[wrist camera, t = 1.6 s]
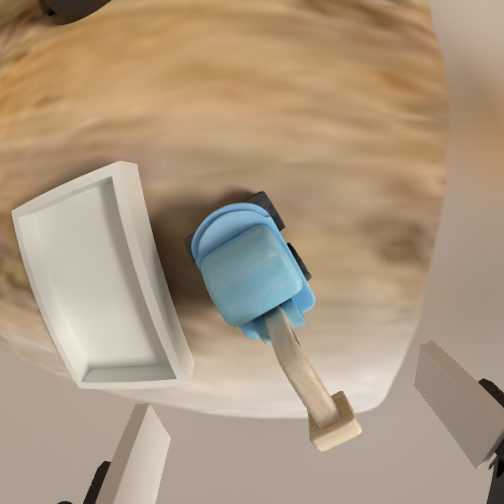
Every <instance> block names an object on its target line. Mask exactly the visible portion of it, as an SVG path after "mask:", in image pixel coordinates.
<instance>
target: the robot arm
mask: <svg viewBox="0 0 504 504" xmlns="http://www.w3.org/2000/svg"><path fill="white" fill-rule="evenodd" d="M109 1H110V0H38V3H39V5H40V7H41V10H42V12H43V14H44V16H45V17H46V18H48V19H49V20H50V21H52V22H53V23H56V24H66V23H70V22H73V21H76V20H79V19H81V18H83V17H85V16H87V15H89V14H91V13H92V12H94V11H96V10H97V9H99V8H101V7H102V6H104V5H105V4H106V3H108V2H109ZM414 386H415V387H416V389H417V390H418V391H419V393H420V394H421V395H422V396H423V398H424V399H425V400H426V401H427V403H428V404H429V405H430V407H431V408H432V409H433V411H434V412H435V413H436V415H437V416H438V417H439V419H440V420H441V421H442V423H443V424H444V425H445V427H446V428H447V429H448V431H449V432H450V433H451V435H452V436H453V437H454V439H455V440H456V442H457V443H458V444H459V446H460V447H461V449H462V450H463V451H464V453H465V454H466V456H467V457H468V458H469V460H470V461H471V463H472V464H473V466H474V467H475V468H476V469H478V468H479V467H480V466H482V465H483V464H484V463H486V462H487V461H488V460H489V459H490V458H491V456H492V455H493V454H494V452H495V453H496V455H497V456H496V458H495V459H494V460H493V462H492V463H491V464H490V466H489V469H491V468H492V466H493V465H494V468H493V469H494V471H493V476H492V482H491V487H490V491H489V495H488V500H487V504H504V393H503V392H502V391H501V390H499V388H498V387H497V386H496V385H495V384H494V383H493V382H491V381H488V380H486V379H484V378H483V379H482V380H480V381H479V382H477V381H476V380H475V379H474V378H473V377H471V375H470V374H468V373H467V372H466V371H465V370H464V369H463V368H462V367H461V366H460V365H459V364H458V363H457V362H456V361H455V360H454V359H452V358H451V357H450V356H449V355H448V354H447V353H446V352H445V351H444V350H443V349H442V348H440V347H439V346H438V345H437V344H436V343H435V342H434V341H433V340H431V341H429V342H426V343H425V344H422V345H420V350H419V358H418V366H417V372H416V378H415V384H414ZM170 439H171V438H170V436H169V435H168V433H167V432H166V430H165V429H164V427H163V426H162V424H161V422H160V421H159V419H158V417H157V416H156V414H155V412H154V411H153V409H152V407H151V405H150V404H136V405H135V408H134V410H133V412H132V415H131V417H130V419H129V421H128V423H127V426H126V428H125V430H124V433H123V435H122V437H121V440H120V442H119V445H118V447H117V449H116V452H115V454H114V457H113V459H112V462H108V461H104V462H103V463H102V464H101V465H100V466H99V467H98V469H97V471H96V474H95V476H94V479H93V480H92V483H91V484H92V485H91V486H90V488H89V490H88V492H87V495H86V497H85V500H84V502H83V504H155V502H156V497H157V493H158V489H159V485H160V480H161V476H162V471H163V468H164V463H165V459H166V455H167V451H168V447H169V443H170ZM58 504H72V503H71V502H68V501H62V502H60V503H58Z"/></svg>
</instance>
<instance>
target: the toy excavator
mask: <svg viewBox="0 0 504 504" xmlns="http://www.w3.org/2000/svg"><path fill="white" fill-rule="evenodd" d="M283 228H285V225H284V223H283V221H282V219H281V217H280V216H279V214H278V212H277V210H276V209H275V207H274V206H273V204H272V202H271V201H270V199H269V198H268V196H267V195H266V193H265V192H263V191H261V192H258V193H256V194H254V195H253V196H252V197H250V198H248V199H246V200H245V201H244V202H240V203H232V204H228V205H225V206H223V207H221V208H219V209H217V210H215V211H214V212H212V213H211V214H210V215H209V216H208V217H206V218H205V220H204V221H203V222H202V223H201V224H200V226H199V227H198V229H197V230H196V232H194V233H193V234H191V235H190V236H189V237H188V238H187V239H186V240H185V245H186V246H187V250H188V252H189V254H190V256H191V258H192V259H193V261H194V262H195V263H196V265H197V266H198V267H199V269H200V270H201V272H202V277H203V280H204V283H205V286H206V288H207V290H208V293H209V295H210V297H211V299H212V301H213V303H214V304H215V306H216V308H217V309H218V311H219V312H220V314H221V315H222V317H223V318H224V319H225V321H226V322H227V323H228V324H229V325H230V326H234V327H238V326H239V328H240V329H241V331H242V332H243V333H244V335H245V336H246V337H248V338H249V339H257V338H259V337H260V338H261V339H262V341H263V342H264V343H265V344H267V345H269V344H270V343H272V345H273V348H274V351H275V354H276V356H277V359H278V361H279V363H280V365H281V368H282V370H283V371H284V373H285V375H286V376H287V378H288V380H289V381H290V383H291V385H292V386H293V388H294V389H295V391H296V392H297V394H298V396H299V397H300V399H301V400H302V402H303V403H304V405H305V407H306V408H307V411H308V417H309V432H310V440H311V442H312V444H313V445H314V446H315V448H316V449H318V450H319V451H325V450H328V449H330V448H332V447H334V446H336V445H338V444H340V443H343V442H345V441H347V440H349V439H351V438H353V437H355V436H357V435H358V434H360V433H361V432H362V427H361V425H360V423H359V421H358V419H357V417H356V415H355V413H354V411H353V409H352V407H351V405H350V403H349V401H348V399H347V397H346V396H345V394H344V392H343V391H339V392H338V393H336V394H334V395H332V396H330V394H329V393H328V391H327V389H326V388H325V386H324V384H323V383H322V381H321V379H320V378H319V376H318V374H317V373H316V371H315V369H314V368H313V366H312V364H311V363H310V361H309V359H308V358H307V356H306V354H305V352H304V350H303V348H302V346H301V344H300V341H299V339H298V337H297V334H296V332H295V328H297V327H299V326H301V325H303V324H305V323H306V321H305V319H304V317H303V315H302V314H303V313H304V312H306V311H308V310H309V309H311V308H312V307H313V306H314V304H315V301H316V300H315V296H314V294H313V292H312V290H311V288H310V286H309V284H308V282H307V281H308V280H310V279H311V275H310V273H309V272H308V270H307V268H306V267H305V265H304V263H303V262H302V260H301V258H300V257H299V256H298V254H297V252H296V251H295V249H294V248H293V246H292V245H291V244H290V243H287V244H286V242H285V240H284V239H283V237H282V235H281V233H280V231H282V229H283Z"/></svg>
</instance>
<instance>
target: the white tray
mask: <svg viewBox="0 0 504 504" xmlns="http://www.w3.org/2000/svg"><path fill="white" fill-rule="evenodd" d="M11 213H12V218H13V223H14V228H15V232H16V236H17V241H18V245H19V248H20V252H21V256H22V259H23V263H24V266H25V270H26V273H27V276H28V279H29V282H30V285H31V288H32V291H33V293H34V296H35V299H36V301H37V304H38V307H39V309H40V312H41V314H42V316H43V319H44V321H45V323H46V326H47V328H48V330H49V332H50V335H51V337H52V339H53V341H54V343H55V345H56V347H57V349H58V351H59V353H60V355H61V357H62V359H63V361H64V363H65V365H66V366H67V368H68V370H69V372H70V374H71V375H72V377H73V379H74V380H75V382H76V384H77V385H78V387H79V388H82V389H143V388H161V387H175V386H186V385H190V380H191V376H192V372H193V368H194V364H195V362H194V360H193V357H192V355H191V352H190V350H189V347H188V344H187V341H186V339H185V336H184V333H183V330H182V328H181V325H180V322H179V319H178V316H177V313H176V310H175V307H174V304H173V301H172V298H171V295H170V292H169V289H168V286H167V282H166V279H165V276H164V273H163V269H162V266H161V262H160V259H159V255H158V252H157V248H156V245H155V241H154V237H153V233H152V229H151V226H150V222H149V217H148V213H147V209H146V205H145V201H144V196H143V192H142V187H141V182H140V178H139V173H138V168H137V164H134V163H129V162H123V161H118V162H115V163H113V164H110V165H107V166H105V167H102V168H100V169H97V170H95V171H92V172H90V173H87V174H85V175H83V176H80V177H78V178H76V179H74V180H71V181H69V182H67V183H65V184H63V185H60V186H58V187H56V188H54V189H52V190H50V191H48V192H46V193H44V194H42V195H40V196H38V197H36V198H34V199H32V200H30V201H28V202H27V203H25V204H23V205H21V206H19V207H17V208H16V209H14V210H12V211H11Z"/></svg>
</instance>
